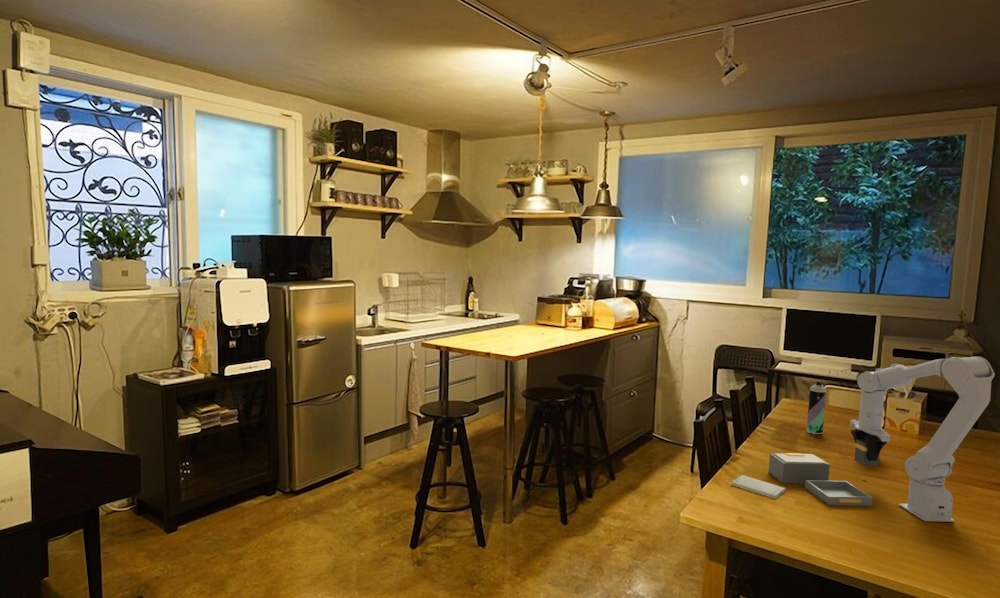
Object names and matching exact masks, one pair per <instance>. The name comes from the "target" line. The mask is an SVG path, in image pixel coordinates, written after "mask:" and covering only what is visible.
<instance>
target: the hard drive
mask: <svg viewBox="0 0 1000 598" xmlns="http://www.w3.org/2000/svg"><path fill="white" fill-rule="evenodd" d="M730 485H731V486H732V485H734V486H733V487H735V486H737V487H736V488H738V487H740V488H739V489H741V488H743V489H742V490H745V489H746V490H745V491H748V490H749V491H748V492H751V491H752V493H754V492H755V494H757V493H759V494H758V495H760V494H762V496H764V495H765V496H764V497H767V496H768V497H767V498H770V497H771V499H773V498H774V499H773V500H777V499H778V498H779V497H780V496H781V495H783V494H784V493H785V492H787V488H786V487H783V486H780V485H777V484H773V483H770V482H768V481H767V482H766V481H764V480H760V479H757V478H753V477H750V476H747V475H743V474H742V475H739V476H738V477H736V478H735V479H734V480H732V481H731V483H730ZM782 493H783V494H782ZM777 497H778V498H777ZM776 498H777V499H776Z"/></svg>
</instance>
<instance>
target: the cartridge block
mask: <svg viewBox="0 0 1000 598" xmlns="http://www.w3.org/2000/svg"><path fill="white" fill-rule="evenodd" d="M854 447H855V451H854V461H855V462H856V463H858V464H859V465H862V466H864V467H865V466H870V467H871V466H873V467H879V465H880V455H881V454H880V453H881V452H880V453H879V455H878V458H877V460H876V461H869V460H868V458H867V444H866V440H865V439H856V443H855V446H854Z"/></svg>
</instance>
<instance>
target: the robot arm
mask: <svg viewBox="0 0 1000 598" xmlns="http://www.w3.org/2000/svg"><path fill="white" fill-rule="evenodd" d="M933 375H934V376H938V377H944V379H945V381H946V382H947V383H948V384H949V386H951V388H952V389H953V390H954V391H955V393H956V394H957V395H958V399H957V401H956V402H955V404H954V405H953V407H952V408H951V410H949V413H948V414H947V415H946V417H945V419H944V420H943V421H942V423H941V424H940V426H939V427H938V429H937V430H936V432H935V433H934V435H933V436H932V437H931V439H930V440H929V442H928V443H927V445H925V446H924V447H922V448H920V449H919V450H917V451H916V453H915V454H914V455H912V456H910V457H908V458H907V459H906V460H905V463H904V469H905V472H906V473H907V475H908V476H909V477H908V478H909V488H908V495H907V503H898V505H899V506H900V507H901V508H903V509H904V510H906V511H908V512H909V513H911V514H913V515H915V517H917V518H919V519H920V520H922V521H924V522H947V523H948V522H952V523H954V522H955V519H954V518H952V516H953V515H952V514H953V506H954V497H953V494H952V492H951V491H949V490H948V489H947V488H946V486H945V482H946V478H948V477H949V476H950V475H951V474H952V471H953V465H954V462H956V458H955V457H954V455H953V454H954V453H955V452H956V450H957V449H958V448H959V446H960V444H961V443H962V442H963V440H964V438H966V437H967V435H968V433H969V432H970V430H971V429H972V428H973V426H974V425H975V424H976V422H977V421H978V419H979V418H980V417H981V415H982V414H983V412H984V411H985V409H986V408H987V407H988V406H989V404H990V402H991V392H992V380H993V379H994V377H995V375H996V374H995V372H994V368H993V367H992V366H991V364H990V362H989V360H987V359H986V358H984V357H982V356H975V355H974V356H970V357H948V358H938V359H933V360H930V361H927V362H922V363H919V364H916V365H912V366H909V367H908V366H905V365H903V364H899V363H893V364H890V366H889V367H885V368H881V367H879V368H875V371H864V372H862V373H860V374H859V375H858V377H857V385H858V387H859V389H860V398H859V399H860V401H859V412H858V419H850V422H849V426H850V427H852V428H853V427H854V429H850V433H851V435H852V437H853V440H854V443H855V444H856V439H865V440H866V444H867V458H868V460H869V461H876V460H877V458H878V455H879V453H881V451H882V449H883V448H884V447H885V445H887V444H888V442H889V443H890V442H891V441H890V440H891V434H889V433H887V432H886V431H885V430H884V429H883V428H882V424H883V413H884V403H885V396H886V394H887V391H888V390H889V389H894V388H900V387H904V386H909V385H911V383H913V379H920V378H923V377H924V378H926V377H929V376H933ZM871 436H872V437H871ZM879 456H880V455H879Z"/></svg>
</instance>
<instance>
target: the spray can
mask: <svg viewBox="0 0 1000 598" xmlns="http://www.w3.org/2000/svg"><path fill="white" fill-rule="evenodd" d="M808 397H809V398H808V408H807V420H806V433H808V434H810V433H812V434H811V435H815V434H822V435H823V433H824V432H823V431H824V421H825V409H826V401H827V400H826V399H827V398H826V397H827V388H826V387H825V386H824V385H823V384H822V382H821V381H819V380H816V382H815V383H814V385H811V386H810V387H809V396H808Z"/></svg>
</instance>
